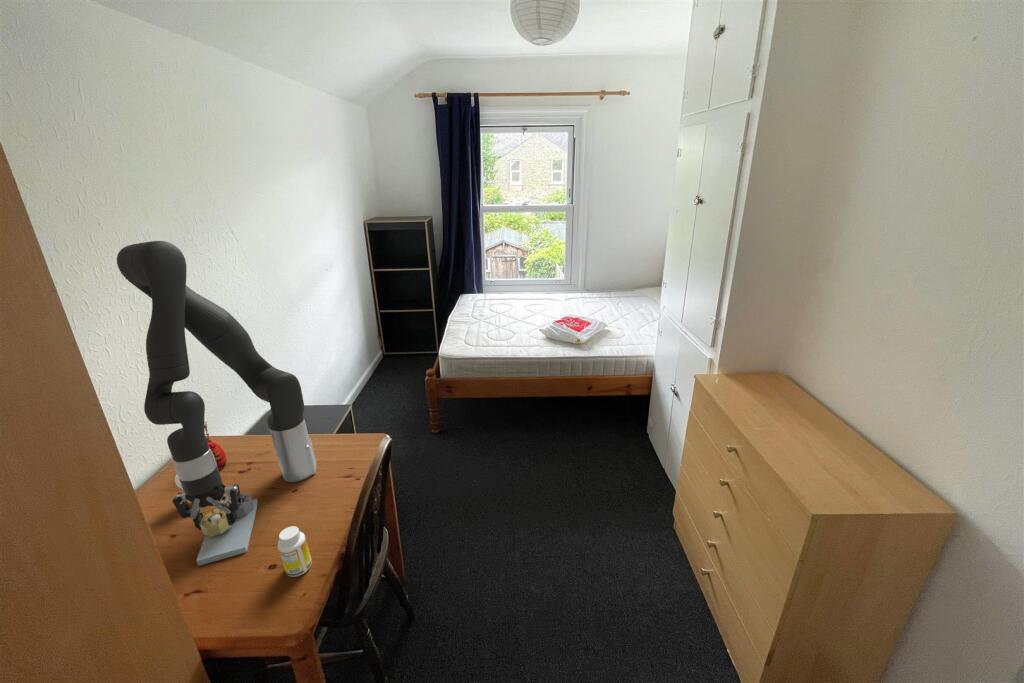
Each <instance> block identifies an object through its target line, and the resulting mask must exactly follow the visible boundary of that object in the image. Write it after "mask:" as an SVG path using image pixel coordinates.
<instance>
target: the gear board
mask: <svg viewBox="0 0 1024 683" xmlns="http://www.w3.org/2000/svg"><path fill="white" fill-rule="evenodd" d="M240 495H241V500H242V503H241V504H240V506H239V508H238V510H235V511H236V514H237V519H236V521H235V522H234V524H233V525H232V526H231V527H230V528H229V529H227V530H226V531H225V532H223V533H222V534H219V535H215V536H211V537H209V536H207V535H204V538H203V541H202V543H201V547H200V549H199V553H198V555H197V558H196V561H195V562H196V564H197V566H204V565H206V564H209V563H213V562H217V561H221V560H224V559H227V558H231V557H233V556H239V555H241V554H245V553H248V549H249V545H250V541H251V535H252V530H253V527H254V522H255V519H256V518H255V517H256V515H257V514H256V513H257V508H258V505H259V502H258V499H257V498H254V499H252V496H251V494H248V493H240ZM229 500H230V501H231V497H229ZM226 506H227V505H226ZM217 509H218V508H216V509H214V510H217ZM220 518H221V517H220V515H219V514H216V515H213V516H212V517H211V518H210V519H211V522H214V521H217V520H219V519H220Z"/></svg>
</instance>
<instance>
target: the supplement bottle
mask: <svg viewBox="0 0 1024 683" xmlns="http://www.w3.org/2000/svg"><path fill="white" fill-rule="evenodd" d="M278 538H279V541H278V543H277V550H278V553H279V556H280V559H281V561H282V565H283V568H284V572H285V574H286V575H287V576H288V577H293V578H294V577H299V576H301V575H303V574H305V573H306V572H308V570H310V568H311V566H312V563H313V559H312V556H311V553H310V548H309V545H308V542H307V539H306V538H307V537H306V535H305V533H304V532H302V531H300V529H299V527H297V526H295V525H292V526H288V527H285V528H284V529H282V530H281V531H280V533H279V535H278Z"/></svg>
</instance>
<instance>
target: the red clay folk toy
mask: <svg viewBox="0 0 1024 683" xmlns="http://www.w3.org/2000/svg"><path fill="white" fill-rule="evenodd" d="M204 424H205V432H206V433H205V436H206V438H207V441H208V444H209V447H210V449H211V451H212V453H213V455H214V458H215V461H216V464H217V466H218V469H219V472H220V471H222V469H223V468H224V467H225V466H226V464H227V462H228V461H227V455H226V453H225V451H224V449H223V448H222V447H221V445H220V444H218V443H217V442H215V441H212V440H211V439H210V433H209V432H208V424H207V421H205V420H204Z"/></svg>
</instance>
